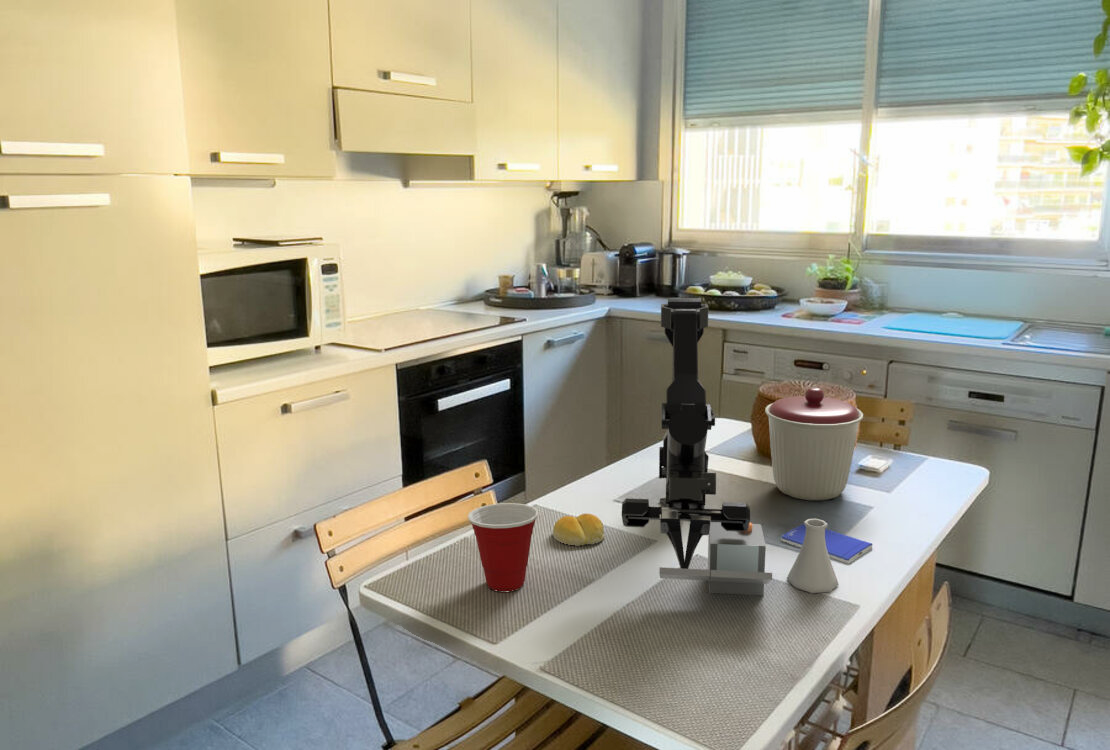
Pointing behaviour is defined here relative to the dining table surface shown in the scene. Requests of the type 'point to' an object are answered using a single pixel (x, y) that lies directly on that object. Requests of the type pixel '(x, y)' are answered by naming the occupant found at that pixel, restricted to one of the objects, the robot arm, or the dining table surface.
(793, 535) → the hard drive
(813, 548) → the flask
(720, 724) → the dining table surface
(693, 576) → the side door
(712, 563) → the grey box
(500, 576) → the plastic cup
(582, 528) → the bread roll
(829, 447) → the canister
